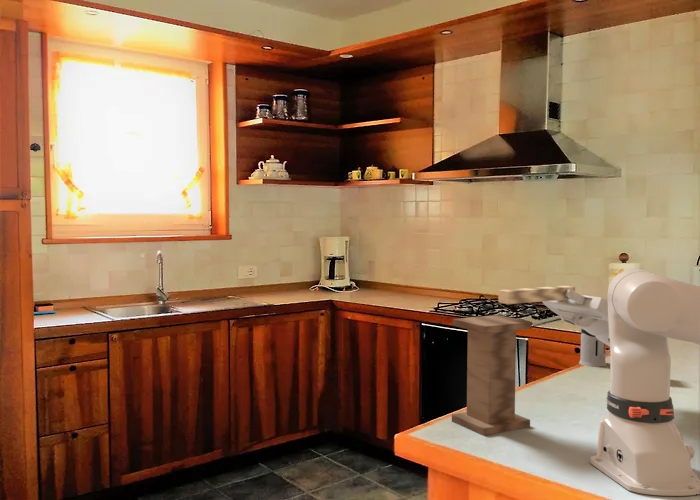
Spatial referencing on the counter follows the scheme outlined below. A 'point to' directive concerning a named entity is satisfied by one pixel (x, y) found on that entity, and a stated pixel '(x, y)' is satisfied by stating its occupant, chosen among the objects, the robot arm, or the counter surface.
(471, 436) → the counter surface
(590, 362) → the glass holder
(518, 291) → the maple bar
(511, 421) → the walnut pedestal
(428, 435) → the counter surface
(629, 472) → the robot arm
